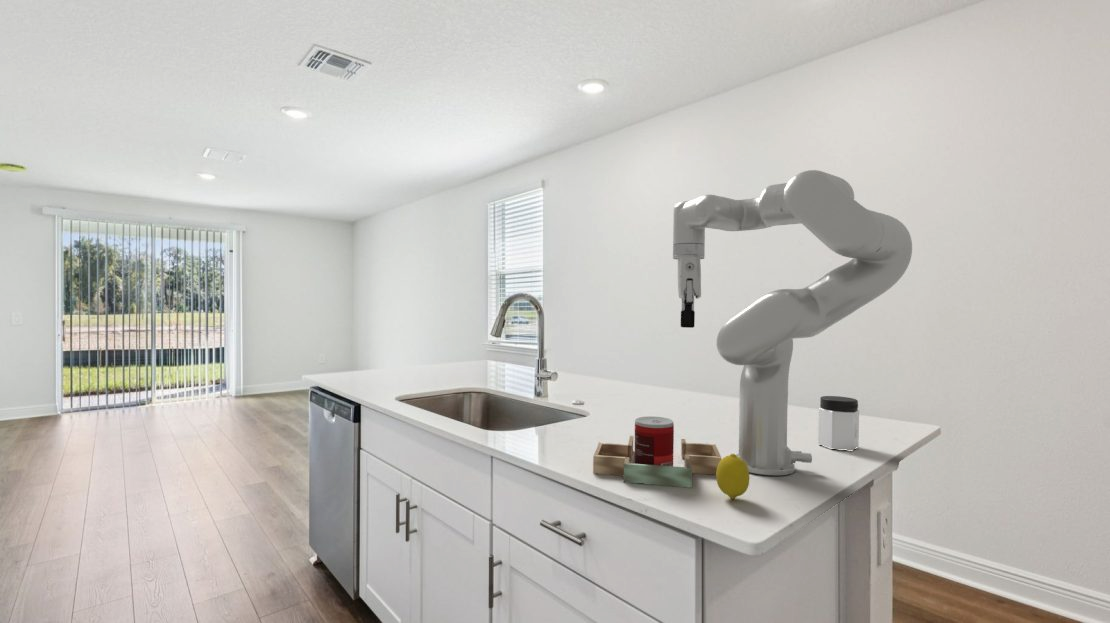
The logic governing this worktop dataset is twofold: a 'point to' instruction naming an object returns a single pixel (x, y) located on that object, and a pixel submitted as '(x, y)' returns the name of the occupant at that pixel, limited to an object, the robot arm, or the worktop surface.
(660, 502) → the worktop surface
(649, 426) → the canned food
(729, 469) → the lemon
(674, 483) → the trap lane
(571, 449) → the worktop surface
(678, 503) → the worktop surface
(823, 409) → the jar
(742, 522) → the worktop surface
